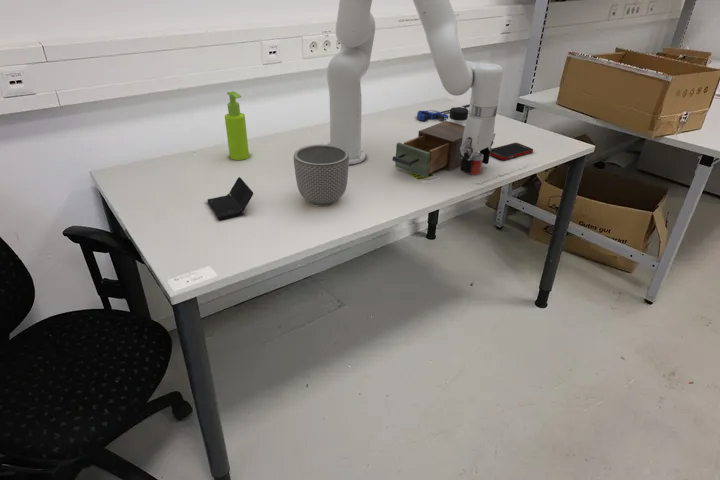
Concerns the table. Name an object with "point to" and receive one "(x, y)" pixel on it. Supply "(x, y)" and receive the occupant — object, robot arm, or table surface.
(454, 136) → the cabinet
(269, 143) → the table surface
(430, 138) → the drawer
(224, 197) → the handheld gaming console
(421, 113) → the bar clamp
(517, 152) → the cell phone
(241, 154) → the soap dispenser
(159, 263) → the table surface
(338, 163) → the planter
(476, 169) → the shaker
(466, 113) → the medicine bottle
